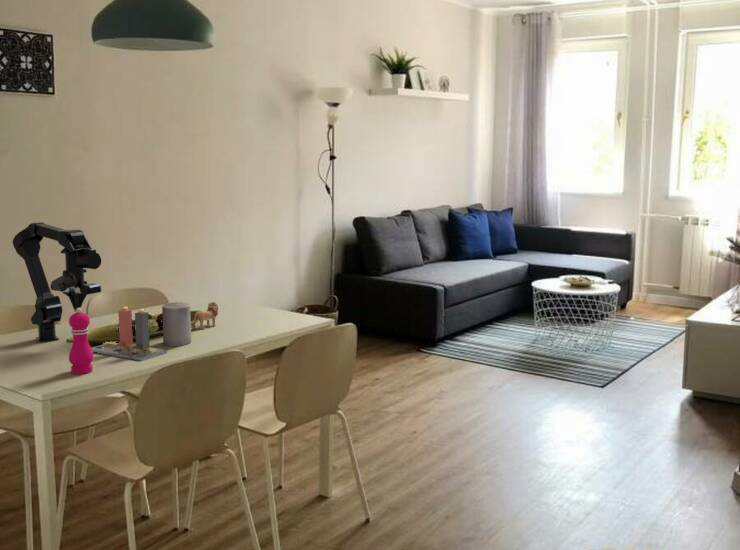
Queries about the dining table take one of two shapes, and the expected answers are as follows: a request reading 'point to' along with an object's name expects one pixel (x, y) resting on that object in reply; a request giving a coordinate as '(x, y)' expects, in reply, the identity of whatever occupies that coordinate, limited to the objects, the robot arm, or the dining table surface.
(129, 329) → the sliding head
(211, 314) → the lion figurine
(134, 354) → the bolt plate
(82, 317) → the pepper mill
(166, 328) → the pillar candle
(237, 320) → the dining table surface
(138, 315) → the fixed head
